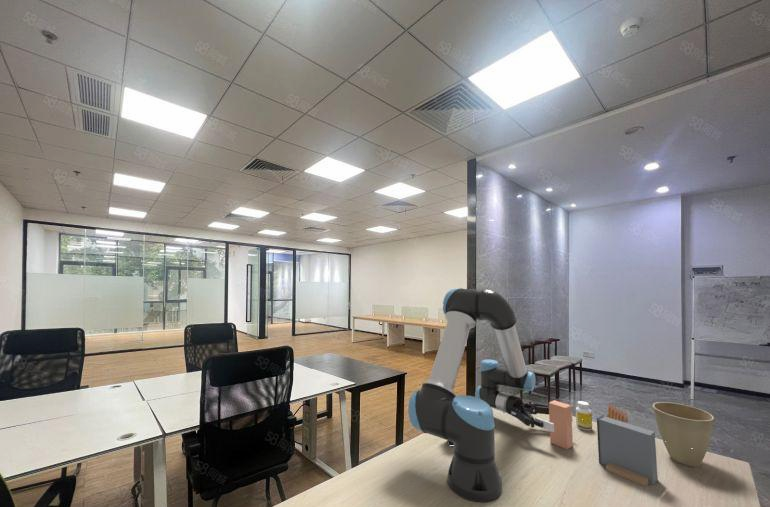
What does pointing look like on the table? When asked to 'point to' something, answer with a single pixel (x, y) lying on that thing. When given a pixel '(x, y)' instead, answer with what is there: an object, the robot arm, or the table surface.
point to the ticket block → (627, 450)
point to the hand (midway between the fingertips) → (563, 423)
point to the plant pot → (684, 431)
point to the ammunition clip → (616, 414)
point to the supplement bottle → (583, 416)
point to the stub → (561, 424)
